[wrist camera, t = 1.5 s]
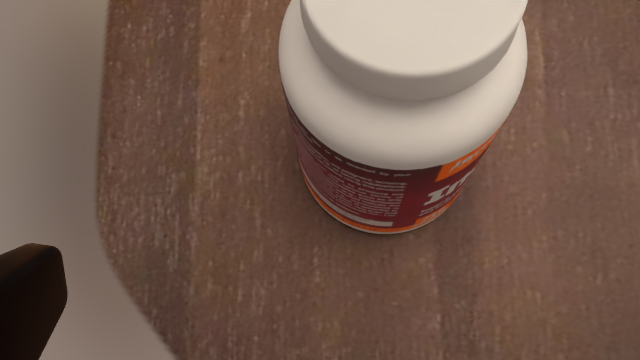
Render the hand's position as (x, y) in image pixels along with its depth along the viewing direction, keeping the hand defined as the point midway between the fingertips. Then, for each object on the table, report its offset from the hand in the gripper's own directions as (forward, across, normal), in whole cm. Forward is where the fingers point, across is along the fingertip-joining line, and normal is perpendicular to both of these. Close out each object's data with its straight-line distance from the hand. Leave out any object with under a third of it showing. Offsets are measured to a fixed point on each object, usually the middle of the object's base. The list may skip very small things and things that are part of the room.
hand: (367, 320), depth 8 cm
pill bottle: (+14, 0, +4) cm, 15 cm away
